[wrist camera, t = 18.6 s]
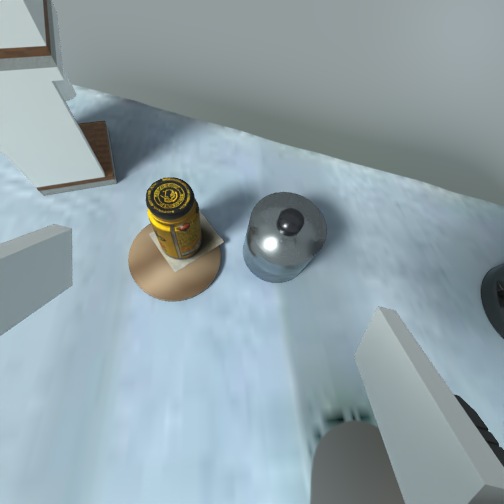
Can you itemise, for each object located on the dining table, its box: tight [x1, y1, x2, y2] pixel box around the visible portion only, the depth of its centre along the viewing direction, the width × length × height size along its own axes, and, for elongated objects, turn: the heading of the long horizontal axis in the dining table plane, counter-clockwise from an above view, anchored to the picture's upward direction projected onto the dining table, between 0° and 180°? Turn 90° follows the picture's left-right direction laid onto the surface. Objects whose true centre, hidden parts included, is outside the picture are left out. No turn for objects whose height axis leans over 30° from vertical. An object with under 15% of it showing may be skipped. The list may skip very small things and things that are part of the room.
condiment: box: [146, 178, 224, 272], centre depth 37 cm, size 7×8×12 cm
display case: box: [0, 0, 117, 195], centre depth 30 cm, size 11×11×35 cm
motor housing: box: [243, 192, 327, 283], centre depth 40 cm, size 10×10×10 cm
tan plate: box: [128, 224, 221, 301], centre depth 42 cm, size 13×13×1 cm
